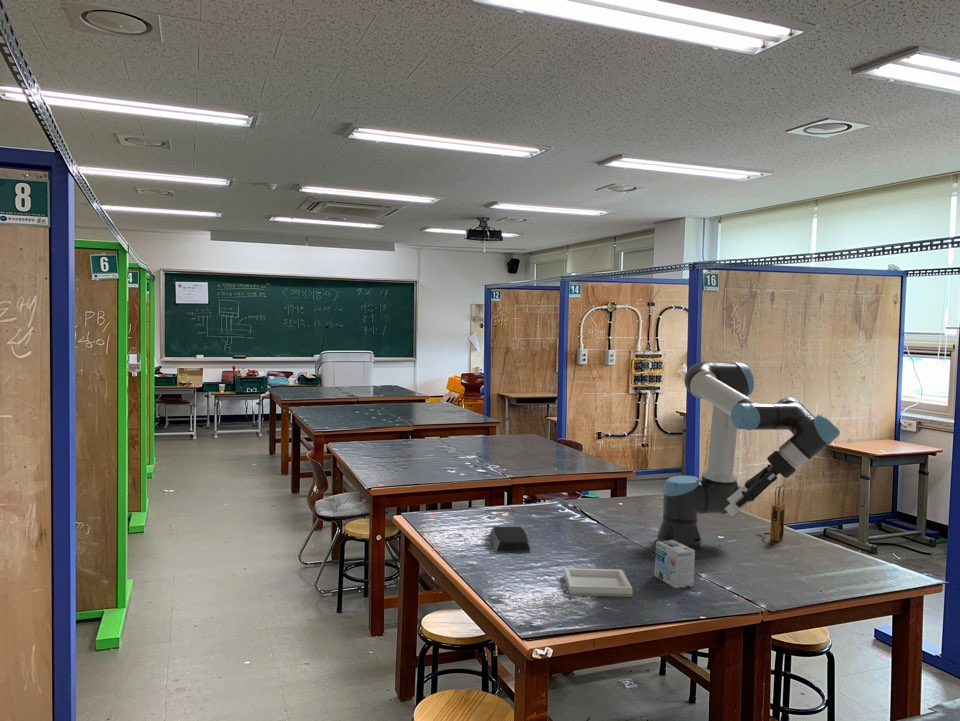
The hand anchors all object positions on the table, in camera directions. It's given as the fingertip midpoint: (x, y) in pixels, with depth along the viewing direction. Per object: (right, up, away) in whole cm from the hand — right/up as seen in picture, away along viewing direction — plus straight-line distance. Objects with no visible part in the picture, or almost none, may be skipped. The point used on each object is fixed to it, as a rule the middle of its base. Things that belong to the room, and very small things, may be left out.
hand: (729, 507), depth 193 cm
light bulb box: (-14, -24, +6) cm, 28 cm away
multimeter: (+33, -23, +52) cm, 66 cm away
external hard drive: (-62, -21, +38) cm, 76 cm away
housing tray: (-38, -23, +1) cm, 45 cm away
